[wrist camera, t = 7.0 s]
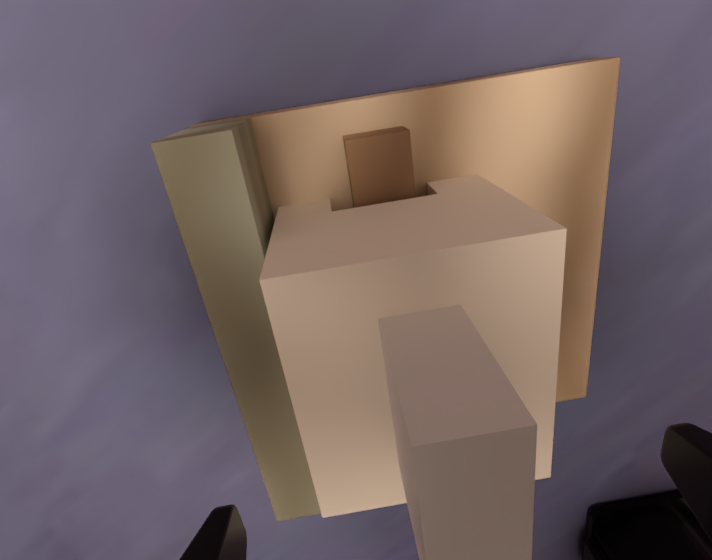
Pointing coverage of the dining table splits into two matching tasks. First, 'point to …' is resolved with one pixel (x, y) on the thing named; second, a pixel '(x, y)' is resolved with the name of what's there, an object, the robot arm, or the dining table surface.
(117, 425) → the dining table surface
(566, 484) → the dining table surface
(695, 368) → the dining table surface
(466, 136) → the cleat board
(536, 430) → the cabinet block
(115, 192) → the dining table surface
